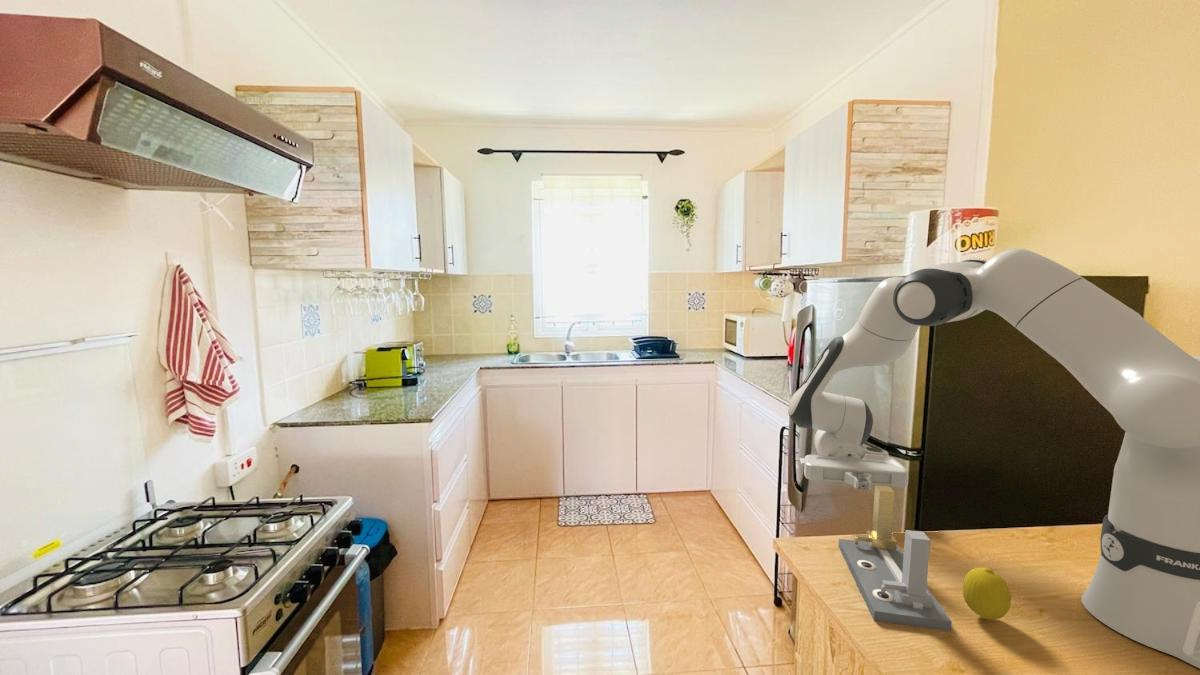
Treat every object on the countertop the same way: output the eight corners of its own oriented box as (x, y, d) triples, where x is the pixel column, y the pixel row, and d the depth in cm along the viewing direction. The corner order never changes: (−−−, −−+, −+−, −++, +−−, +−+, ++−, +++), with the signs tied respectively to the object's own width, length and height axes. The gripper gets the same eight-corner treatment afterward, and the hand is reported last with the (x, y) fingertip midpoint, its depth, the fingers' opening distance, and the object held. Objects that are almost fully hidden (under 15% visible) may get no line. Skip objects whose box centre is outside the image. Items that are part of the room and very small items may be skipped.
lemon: (1017, 634, 66) (1023, 582, 66) (973, 629, 68) (978, 577, 67) (993, 608, 72) (998, 559, 71) (952, 603, 73) (957, 555, 72)
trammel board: (897, 552, 87) (901, 491, 85) (950, 631, 67) (957, 552, 66) (838, 546, 89) (841, 485, 87) (873, 620, 70) (879, 544, 68)
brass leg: (890, 543, 86) (894, 486, 85) (896, 552, 83) (900, 493, 82) (851, 539, 88) (855, 482, 86) (856, 547, 85) (860, 490, 83)
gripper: (797, 444, 111) (809, 466, 98) (894, 450, 106) (920, 475, 93) (796, 470, 112) (808, 495, 98) (892, 477, 107) (918, 505, 94)
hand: (863, 485), depth 96 cm, fingers closed
